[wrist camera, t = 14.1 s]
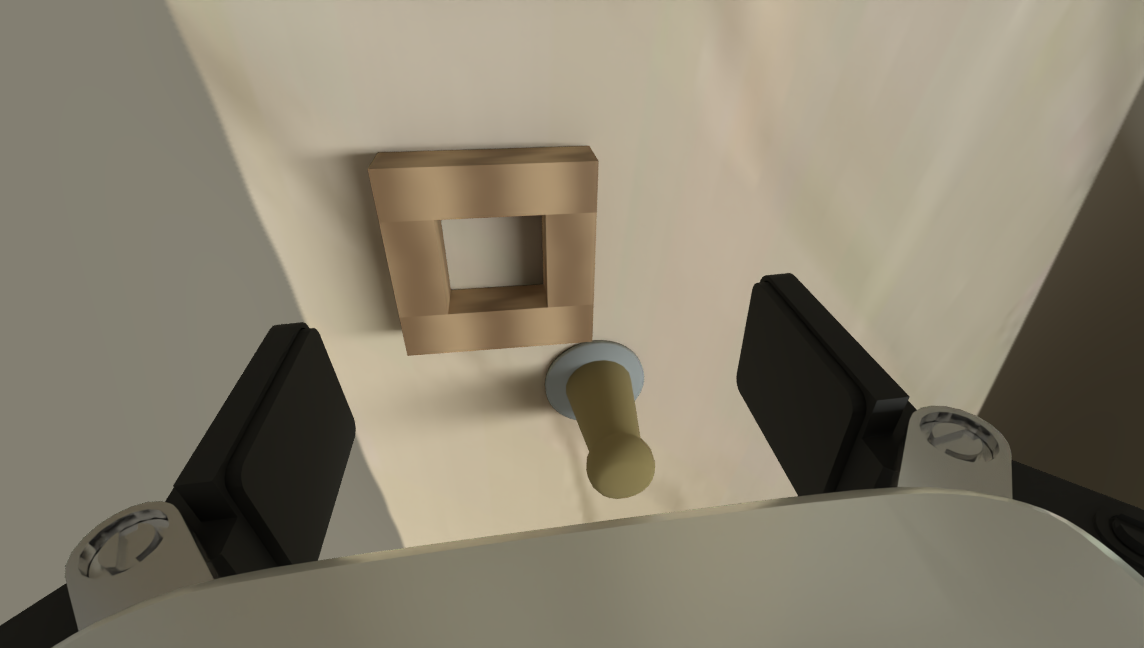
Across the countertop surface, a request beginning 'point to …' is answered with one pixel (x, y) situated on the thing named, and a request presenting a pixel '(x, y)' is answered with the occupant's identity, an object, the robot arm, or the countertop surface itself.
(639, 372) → the coaster
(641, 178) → the countertop surface
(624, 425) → the cork
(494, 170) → the socket ring
